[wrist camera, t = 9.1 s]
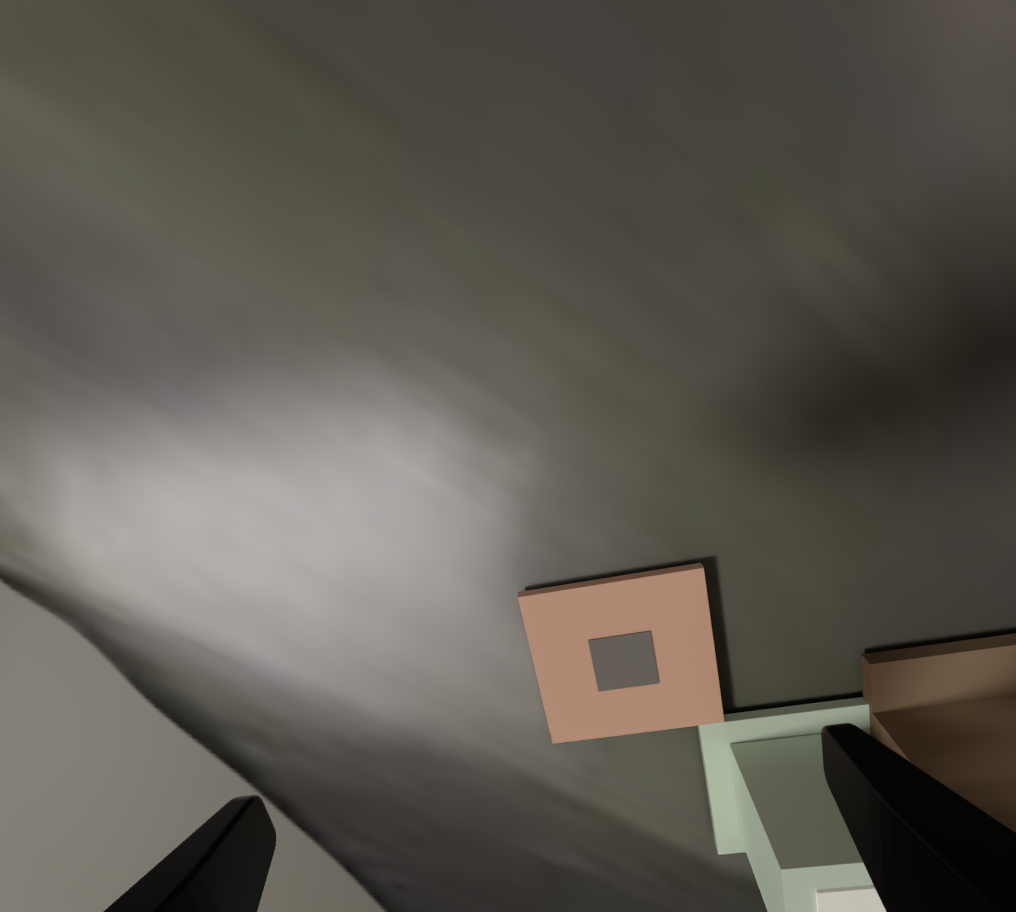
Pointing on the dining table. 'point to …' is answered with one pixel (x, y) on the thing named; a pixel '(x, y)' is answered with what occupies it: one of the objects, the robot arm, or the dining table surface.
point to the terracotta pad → (624, 653)
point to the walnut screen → (951, 715)
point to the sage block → (797, 830)
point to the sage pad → (758, 729)
